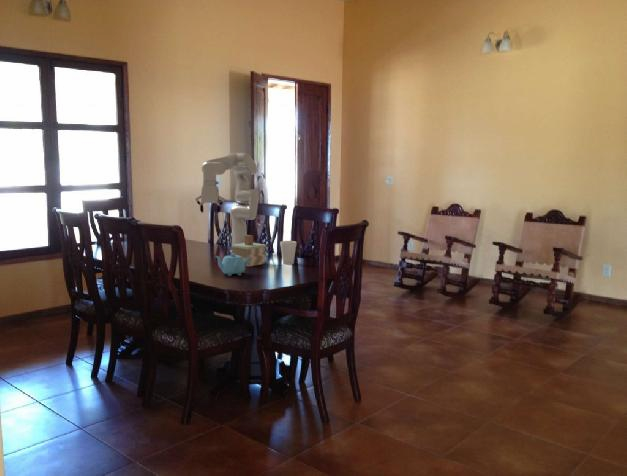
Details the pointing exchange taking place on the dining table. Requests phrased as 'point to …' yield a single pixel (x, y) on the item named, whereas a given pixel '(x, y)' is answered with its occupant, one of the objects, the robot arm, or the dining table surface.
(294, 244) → the foam cup
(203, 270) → the dining table surface
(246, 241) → the lid
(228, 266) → the teapot
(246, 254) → the box
